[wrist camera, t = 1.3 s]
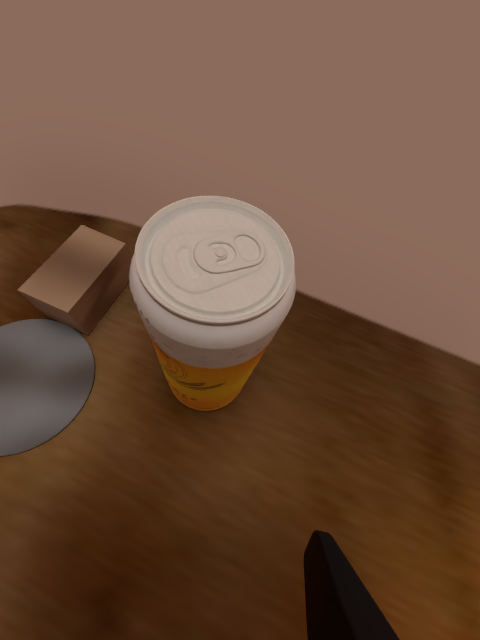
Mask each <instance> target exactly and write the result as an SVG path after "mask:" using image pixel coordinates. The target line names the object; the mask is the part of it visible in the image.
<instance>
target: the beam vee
mask: <svg viewBox="0 0 480 640" xmlns="http://www.w3.org/2000/svg"><path fill="white" fill-rule="evenodd" d="M130 265H131V258H130V255H129V252H128V249H127V246H126V243H123V242H121V241H118V240H116V239H114V238H111V237H109V236H107V235H104V234H102V233H100V232H97V231H95V230H93V229H90V228H88V227H86V226H83V225H81V226H80V227H79V228H78V229H77V230H76V231H75V232H74V233H73V234H72V235H71V236H70V237H69V238H68V239H67V240H66V241H65V242H64V243H63V244H62V245H61V246H60V247H59V248H58V249H57V250H56V252H55V253H54V254H53V255H52V256H51V257H50V258H49V259H48V260H47V261H46V262H45V263H44V264H43V265H42V266H41V267H40V268H39V269H38V270H37V271H36V272H35V273H34V274H33V275H32V276H31V277H30V278H29V279H28V280H27V281H26V282H25V283H24V284H23V285H22V286H21V287H20V288H19V289H18V291H19V292H20V293H21V294H22V295H23V296H24V297H25V298H27V299H28V300H29V301H30V302H31V303H32V304H33V305H34V306H35V307H36V308H37V309H38V310H40V311H41V312H42V313H43V314H44V315H45V316H46V317H49V318H51V319H53V320H55V321H53V320H46V319H29V320H22V321H17V322H13V323H10V324H7V325H4V326H1V327H0V456H7V455H13V454H18V453H21V452H24V451H28V450H30V449H33V448H35V447H37V446H39V445H41V444H43V443H45V442H47V441H48V440H50V439H51V438H53V437H54V436H56V435H57V434H59V433H60V432H61V431H62V430H63V429H64V428H66V427H67V426H68V425H69V424H70V423H71V422H72V421H73V420H74V418H75V417H76V416H77V415H78V413H79V412H80V411H81V409H82V408H83V406H84V404H85V403H86V401H87V399H88V397H89V395H90V392H91V389H92V386H93V383H94V377H95V362H94V357H93V353H92V350H91V348H90V346H89V344H88V343H87V342H86V340H85V339H84V338H83V337H82V336H81V335H80V334H79V333H78V332H77V331H79V332H82V333H84V334H86V335H88V336H89V334H90V333H91V332H92V330H93V329H94V328H95V326H96V325H97V324H98V322H99V321H100V320H101V318H102V317H103V316H104V314H105V313H106V312H107V310H108V309H109V308H110V306H111V305H112V304H113V302H114V301H115V300H116V299H117V297H118V296H119V295H120V293H121V292H122V291H123V289H124V288H125V287H126V285H127V284H128V283H129V271H130ZM74 329H75V330H74ZM76 330H77V331H76Z"/></svg>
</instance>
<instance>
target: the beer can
mask: <svg viewBox="0 0 480 640" xmlns="http://www.w3.org/2000/svg"><path fill="white" fill-rule="evenodd" d="M129 284H130V289H131V293H132V296H133V299H134V302H135V304H136V306H137V309H138V311H139V314H140V316H141V319H142V321H143V323H144V326H145V328H146V331H147V333H148V335H149V338H150V340H151V343H152V345H153V348H154V350H155V352H156V355H157V357H158V360H159V362H160V364H161V367H162V369H163V372H164V374H165V377H166V379H167V381H168V384H169V386H170V389H171V391H172V392H173V394H174V395H175V397H176V398H177V399H178V400H179V401H180V402H181V403H183V404H184V405H186V406H188V407H190V408H192V409H195V410H200V411H211V410H216V409H219V408H222V407H224V406H226V405H228V404H229V403H230V402H232V401H233V400H234V399H235V398H236V397H237V395H238V394H239V393H240V391H241V389H242V388H243V386H244V384H245V383H246V381H247V379H248V378H249V376H250V375H251V373H252V371H253V370H254V368H255V366H256V365H257V363H258V361H259V360H260V358H261V356H262V355H263V353H264V352H265V350H266V348H267V347H268V345H269V343H270V342H271V340H272V338H273V337H274V335H275V333H276V332H277V330H278V328H279V327H280V325H281V324H282V322H283V320H284V319H285V317H286V315H287V314H288V312H289V310H290V308H291V306H292V303H293V300H294V296H295V291H296V278H295V272H294V254H293V249H292V246H291V244H290V241H289V239H288V237H287V236H286V234H285V233H284V231H283V230H282V228H281V227H280V226H279V225H278V224H277V223H276V222H275V221H274V220H273V219H272V218H271V217H270V216H269V215H267V214H266V213H264V212H263V211H261V210H260V209H258V208H256V207H254V206H252V205H250V204H248V203H246V202H243V201H240V200H236V199H232V198H227V197H220V196H197V197H191V198H186V199H182V200H180V201H177V202H174V203H172V204H170V205H167V206H166V207H164V208H162V209H161V210H160V211H158V212H157V213H155V214H154V215H153V216H152V217H151V218H150V219H149V220H148V221H147V222H146V224H145V225H144V226H143V228H142V230H141V231H140V234H139V236H138V238H137V242H136V246H135V253H134V255H133V258H132V261H131V265H130V271H129Z"/></svg>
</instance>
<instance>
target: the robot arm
mask: <svg viewBox="0 0 480 640" xmlns="http://www.w3.org/2000/svg"><path fill="white" fill-rule="evenodd" d="M304 578H305V599H306V619H307V636H308V640H399V638H398V637H397V635H396V633H395V632H394V630H393V629H392V627H391V626H390V624H389V623H388V621H387V620H386V618H385V617H384V615H383V614H382V612H381V610H380V609H379V607H378V606H377V604H376V603H375V601H374V600H373V598H372V597H371V595H370V594H369V592H368V591H367V589H366V587H365V586H364V584H363V583H362V581H361V580H360V578H359V577H358V575H357V574H356V572H355V571H354V569H353V568H352V566H351V564H350V563H349V561H348V560H347V558H346V557H345V555H344V554H343V552H342V551H341V549H340V548H339V546H338V545H337V543H336V542H335V540H334V538H333V537H332V536H331V535H330V534H329V533H327V532H323V531H318V530H315V531H314V532H313V533H312V536H311V538H310V540H309V543H308V545H307V547H306V550H305V553H304Z"/></svg>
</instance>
